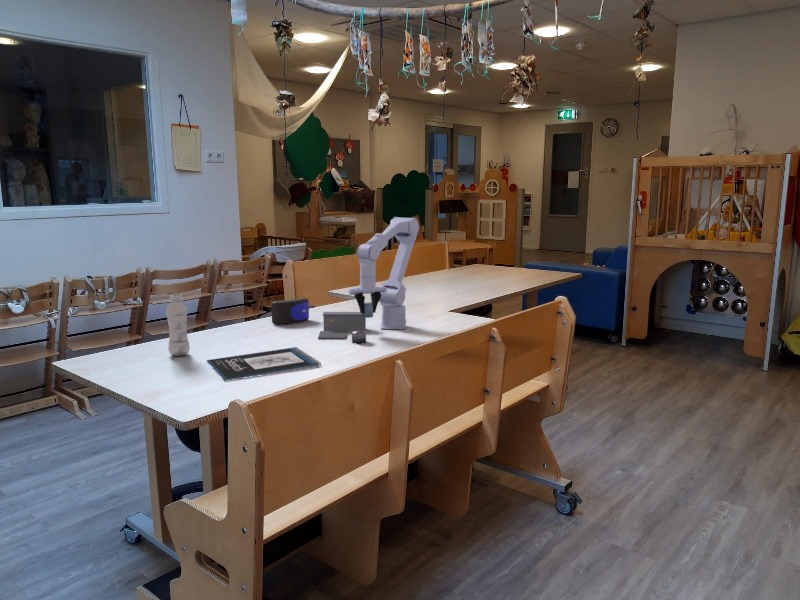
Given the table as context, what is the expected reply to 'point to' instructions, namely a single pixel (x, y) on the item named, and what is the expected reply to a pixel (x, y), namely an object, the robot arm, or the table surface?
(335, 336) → the mat
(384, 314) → the robot arm
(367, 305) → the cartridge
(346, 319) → the block
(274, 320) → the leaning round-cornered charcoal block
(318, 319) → the table surface
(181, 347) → the plastic bottle
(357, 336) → the cap
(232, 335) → the table surface
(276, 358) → the sketchbook
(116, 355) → the table surface
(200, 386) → the table surface
